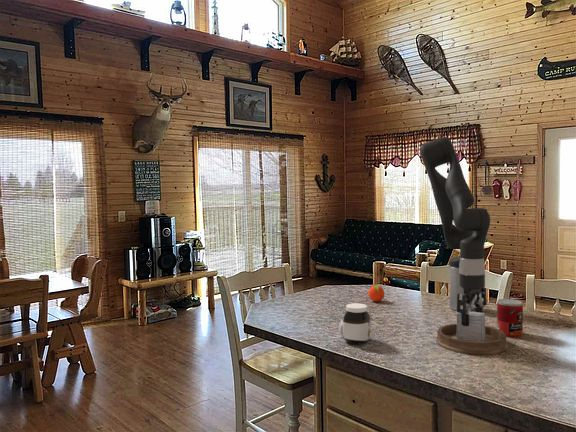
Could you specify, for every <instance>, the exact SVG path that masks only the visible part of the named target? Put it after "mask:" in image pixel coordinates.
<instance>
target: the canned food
mask: <svg viewBox="0 0 576 432" xmlns="http://www.w3.org/2000/svg"><path fill="white" fill-rule="evenodd" d="M496 303H497V304H496V324H497V326H496V329H499V330H501V331H503V332H504V333H505V334H506V338H520V337H522V336H523V334H524V333H523V332H524V330H523V329H524V328H523V325H524V321H523V320H524V318H523V317H524V312H523V311H524V304H523V301H521V300H518V299H513V298H500V299H497V300H496Z"/></svg>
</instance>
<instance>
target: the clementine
mask: <svg viewBox="0 0 576 432" xmlns="http://www.w3.org/2000/svg"><path fill="white" fill-rule="evenodd" d="M368 297H369V299H370V300H371V301H372V302H376V303H377V302H380V301H382V300H383V299H384V298H385V290H384V289H383V287H381V286H380V285H377V284H375V285H372V286H371V287H370V288H369V290H368Z"/></svg>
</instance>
